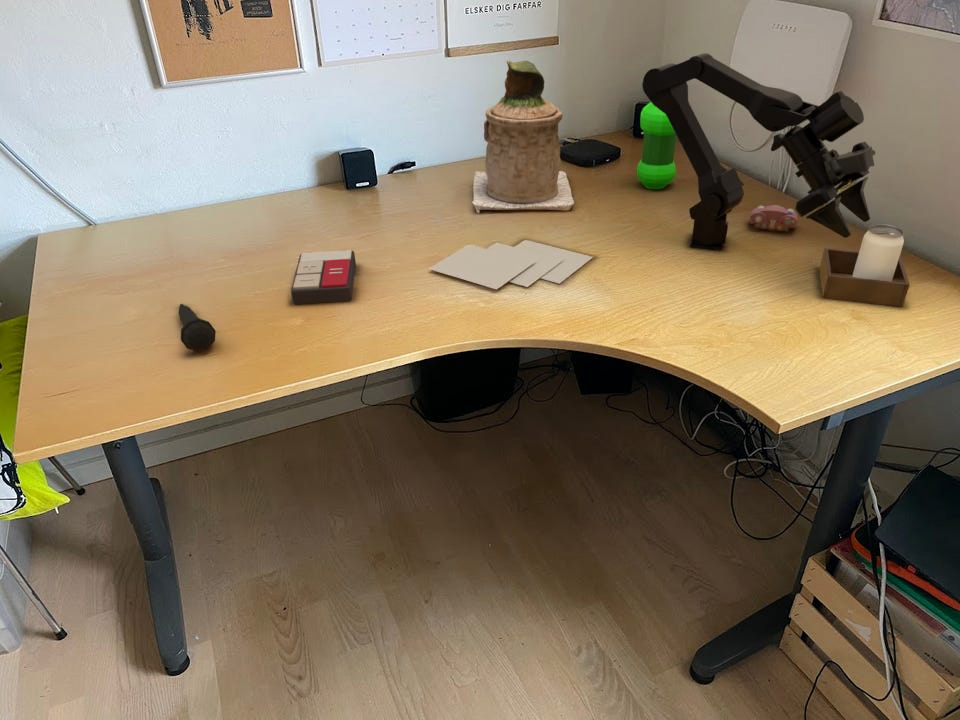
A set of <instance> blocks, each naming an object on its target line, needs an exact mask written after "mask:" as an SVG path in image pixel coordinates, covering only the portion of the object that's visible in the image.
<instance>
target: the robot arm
mask: <svg viewBox="0 0 960 720" xmlns="http://www.w3.org/2000/svg"><path fill="white" fill-rule="evenodd" d="M694 79H695V80H697V81H699V82H700V83H703V84H704V85H706V86H707V87H709V88H711V89H712V90H715V91H717V92H718V93H719V94H722V95H724V96H725V97H727V98H728V99H730V100H732V101H734V102H736V103H737V104H739V105H741V106H742V107H744V108H745V109H746V110H747V111H748V112H749V114H750V116H751V117H752V118H753V120H755V121H756V122H757V123H758V124H759V125H761V127H763V128H764V129H765V130H767V131H769V132H773V133H775V132H776V133H777V132H780V131H783V130H784V129H787V128H788V127H792V128H790V129H789V130H787V131H786V132H784V133H777V134H775V135H774V136H772V137H773V139H772V143H771V147H770V151H771V152H775V151H776V150H778V149H781V148H782V147H783V149H784V150H785V152H786V153H787V154H788V156H789V158H790V159H791V160H792V162H793V164H794V165H795V166H796V168H797V170H798V171H796V172H795V173H794V174H795V175H796V177H797V178H800V177H803V179H804V180H805V182H806V184H807V185H808V186H809V188H810V190H808V191H807V195H805V196H804V197H802V198H801V199H799V200H798V201H796V203H795V208H794V209H795V212H796V213H797V215H798V216H799V217H800V218H803V217H805V219H807V220H809V219H810V220H812V221H814V222H815V223H817V224H820V225H822V226H823V227H825V228H827V229H829V230H831V231H832V232H833V233H836V234H838V235H839V236H841V237H842V238H844V239H847V238H849V237H850V236H851V235H852V233H851V230H850V228H849V225H848V224H847V222H846V220H845V217H844V216H843V214H842V211H841V210H840V204H842V205H843V207H845V208H846V209H847V210H848V211H850V212H851V213H852V214H853V215H855V217H857V218H858V219H859V220H861V221H862V222H863V223H866V222H868V221H870V220H871V216H870V212H869V208H868V204H867V200H866V196H865V191H864V189H865V186H866V183H867V181H868V179H869V176H867V175H868V174H870V171H869V169H870V168H871V167H874V166H875V160H874V156H875V155H876V151H875V150H874V149H873V147H872V146H870V145H869V144H868V143H867V142H866V141H861V142H858V143H855V144H854V145H853V146H852V149H851V151H847V152H846V153H842V154H839V152H838V151H837V150H836V149H834V148H832V149H831V150H829V149H828V148H827V146H826V144H825V143H824V141H827V142H829V143H834V142H835V141H836V140H838V139H840V138H841V137H843V136H844V135H846V134H847V133H849V132H850V131H852V130H854V129H856V128H857V127H858V126H859V125H861V124H863V123H864V121H865V116H864V112H863V110H862V108H861V106H860V104H859V103H858V102H856V101H855V100H854V99H853V98H851V97H850V96H848V95H845V93H844V92H843V90H838V91H836V92H835V93H833V94H831V95H830V96H829V97H828V98H827V99H826V100H825V101H824V102H823V103H821V104H820V105H817V104H813V103H811V102H807V101H804V100H803V99H802V97H801V96H799V95H798V94H797V93H794V92H791V91H788V90H786V89H783V88H778V87H772V86H766V85H763V84H761V83H759V82H757V81H756V80H753V79H752V78H750V77H748V76H746V75H744V74H743V73H741V72H739V71H737V70H736V69H734V68H732V67H730V66H728V65H726V64H725V63H723V62H721V61H719V60H717V59H716V58H714V57H713V55H711V54H710V53H706V52H704V53H699V54H697V55H693V56H691V57H690V58H688V59H687V60H685V61H682V62H680V63H677V64H676V63H673V62H671V63H665V64H662V65H660V66H659V65H658V66H656V67H654V68H651V69H649V70H648V71H646V73H645V74H644V76H643V79H642V83H641V88H642V91H643V92H644V94H645V96H646V97H647V98H648V100H649V102H652V104H653V105H654V106H655V107H657V108H658V109H659V110H661V111H662V112H663V113H665V114H666V116H667V117H668V119H669V121H670V123H671V125H672V127H673V129H674V131H675V133H676V138H677V139H678V141H679V144H680V145H681V147H682V149H683V151H684V153H685V154H686V156H687V158H688V160H689V162H690V165H691V166H692V168H693V170H694V172H695V174H696V176H697V187H698V188H697V189H698V191H697V193H698V196H699V198H700V199H699V200H700V201H699V202H697V203H695V205H693V206H691V207H689V208H688V210H689V211H688V212H689V218H690V219H691V220H693V225H692V226H693V227H692V233H691V238H690V242H689V247H691V248H698V249H706V250H707V249H709V250H717V251H718V250H719V251H721V250H722V249H723V245H726V241H727V235H728V228H729V221H727V216H728V214H730V213H731V212H732V211H733V209H734V208H735V207H738V206H739V205H740V204H741V202H742V201H743V198H744V194H745V191H744V188H743V187H744V185H745V183H744V182H743V181H741V179H740V177H739V174H738V171H737V170H736V168H735V167H732V168H730V169H727V168H725V166H723V165H722V164H721V163H720V161H719V159H718V158H717V155H716V153H715V151H714V149H713V148H712V145H711V144H710V141H709V139H708V138H707V135H706V134H705V131H704V130H703V128H702V126H701V124H700V121H699V120H698V118H697V116H696V114H695V112H694V110H693V108H692V106H691V104H690V102H689V85H688V82H689V81H691V80H694ZM806 121H809V123H807V124H806V125H804V126H800V125H801V124H803V123H804V122H806ZM865 176H866V177H865ZM862 178H863V179H862Z"/></svg>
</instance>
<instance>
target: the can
mask: <svg viewBox="0 0 960 720" xmlns="http://www.w3.org/2000/svg"><path fill="white" fill-rule="evenodd" d="M904 235H905V231H904V230H903V229H901V228H899V227H897V226H894V225H891V224H886V223H885V224H883V223H882V224H881V223H880V224H878V223H877V224H872V225H870V226H869V227H868V230H867V231H866V232H865V233H864V235H863V238H862V240H861V245H860V248H859V250H858V252H859V254H858V258H857V261H856V265H855V268H854V272H853V274H851V275H852V276H851V277H855V278H865V279H874V280H883V281H892V279H893V275H894V272H895V269H896V266H897V263H898V260H899V257H901V253H902V251H903V246H904V243H905V239H904Z"/></svg>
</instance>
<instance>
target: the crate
mask: <svg viewBox="0 0 960 720" xmlns="http://www.w3.org/2000/svg"><path fill="white" fill-rule="evenodd" d="M858 254H859V250H857V251H856V250H849V249H848V250H847V249H846V250H845V249H837V248H828V247H825V248H824V249H823V253H822V257H821V261H820V264H819V269H818V271H819V279H820V288H821V297H822V298H825V299H829V300H830V299H831V300H839V301H847V302H856V303H863V304H864V303H865V304H873V305H881V306H889V307H897V308H898V307H899V308H903V307H904V303H905V300H906V298H907V294H908V291H909V289H910V282H909V278H908V275H907V272H906V269H905V266H904V263H903V259H902V257H901V256H900V257H899V260H898V263H897V266H896V269H895V272H894V275H893V279H892V281H883V280H874V279H865V278H855V277H852V276H846V275H837V274H836V275H835V274H832V272H833V273H840V274H841V273H842V274H850V275H853V272H854V268H855V265H856V261H857V258H858Z"/></svg>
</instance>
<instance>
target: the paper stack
mask: <svg viewBox="0 0 960 720" xmlns="http://www.w3.org/2000/svg"><path fill="white" fill-rule="evenodd" d="M592 259H594V256H591V255H587V254H583V253H579V252H575V251H571V250H568V249H563V248H559V247H555V246H552V245H548V244H544V243H540V242H537V241H533V240H529V239H524V240H523V241H521V242H519V243H517V244H516V245H515V246H513V245H512V246H511V245H509V244H505V243H502V242H501V243H500V242H495V243H493V244H491V245H490V246H488V247H487V248H485V247H481V246H477V245H474V244H470V243H469V244H467V245H465V246H464V247H462V248H460V249H458V250H456V251H455V252H453V253H452V254H450V255H449V256H447V257H445V258H444V259H441V260H440V261H438V262H437V263H435V264H434V265H432V266H430V267H429V268H428V270H431V271H434V272H437V273H441V274H444V275H446V276H450V277H454V278H457V279H461V280H464V281H467V282H470V283H474V284H478V285H480V286H483V287H487V288H489V289H493V290H498V289H500V288H501V287H502V286H504V285H505V284H507V283H508V282H509V283H512V284H514V285H518V286H522V287H526V288H528V287H530V286H531V285H532V284H534V283H535V282H537V281H538V280H539V279H541V280H545V281H548V282H552V283H556V284H561V283H562V282H564V281H565V280H567V279H568V278H569V277H570V276H571V275H572V274H574V273H575V272H577V271H578V270H580V268H582V267H583V266H584V265H586V264H587V263H588V262H590V261H591V260H592Z"/></svg>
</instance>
